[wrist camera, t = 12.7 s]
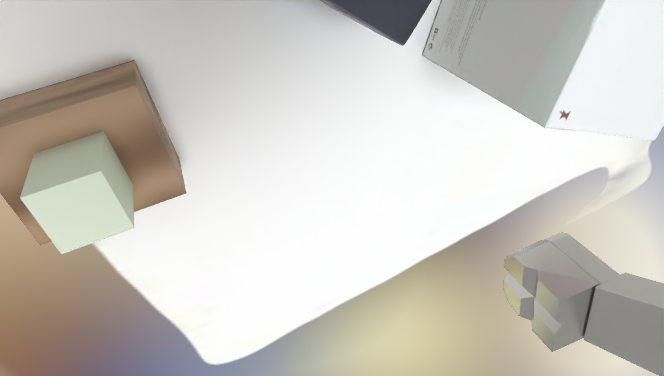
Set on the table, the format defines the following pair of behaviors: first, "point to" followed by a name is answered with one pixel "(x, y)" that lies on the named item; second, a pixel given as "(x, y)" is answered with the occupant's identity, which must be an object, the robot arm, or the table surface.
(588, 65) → the supplement box
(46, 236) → the walnut block
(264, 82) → the table surface
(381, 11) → the small box
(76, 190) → the sage block
